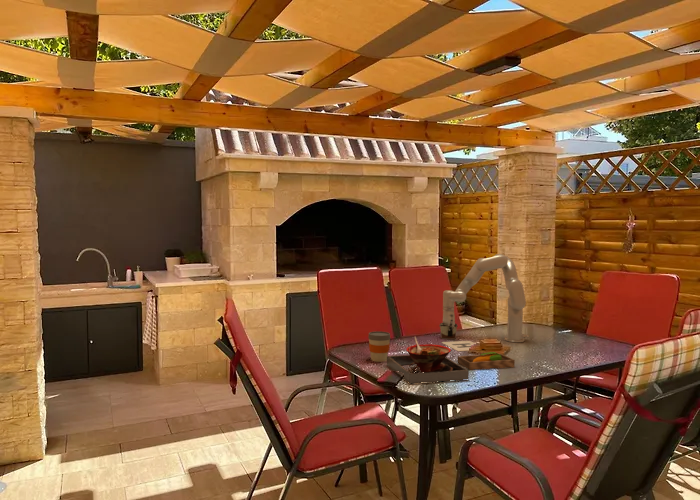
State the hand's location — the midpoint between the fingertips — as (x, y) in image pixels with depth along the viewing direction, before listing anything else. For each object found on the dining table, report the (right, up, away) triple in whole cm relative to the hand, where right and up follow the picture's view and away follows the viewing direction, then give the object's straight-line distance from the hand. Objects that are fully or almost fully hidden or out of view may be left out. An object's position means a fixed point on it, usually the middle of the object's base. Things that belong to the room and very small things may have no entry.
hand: (448, 334), depth 364 cm
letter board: (+6, -4, -23) cm, 24 cm away
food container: (0, -2, +1) cm, 2 cm away
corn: (+9, -6, -70) cm, 70 cm away
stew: (-25, -7, -80) cm, 84 cm away
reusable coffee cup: (-50, -5, -58) cm, 77 cm away
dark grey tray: (-27, -6, -83) cm, 88 cm away
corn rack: (+8, -6, -68) cm, 69 cm away
